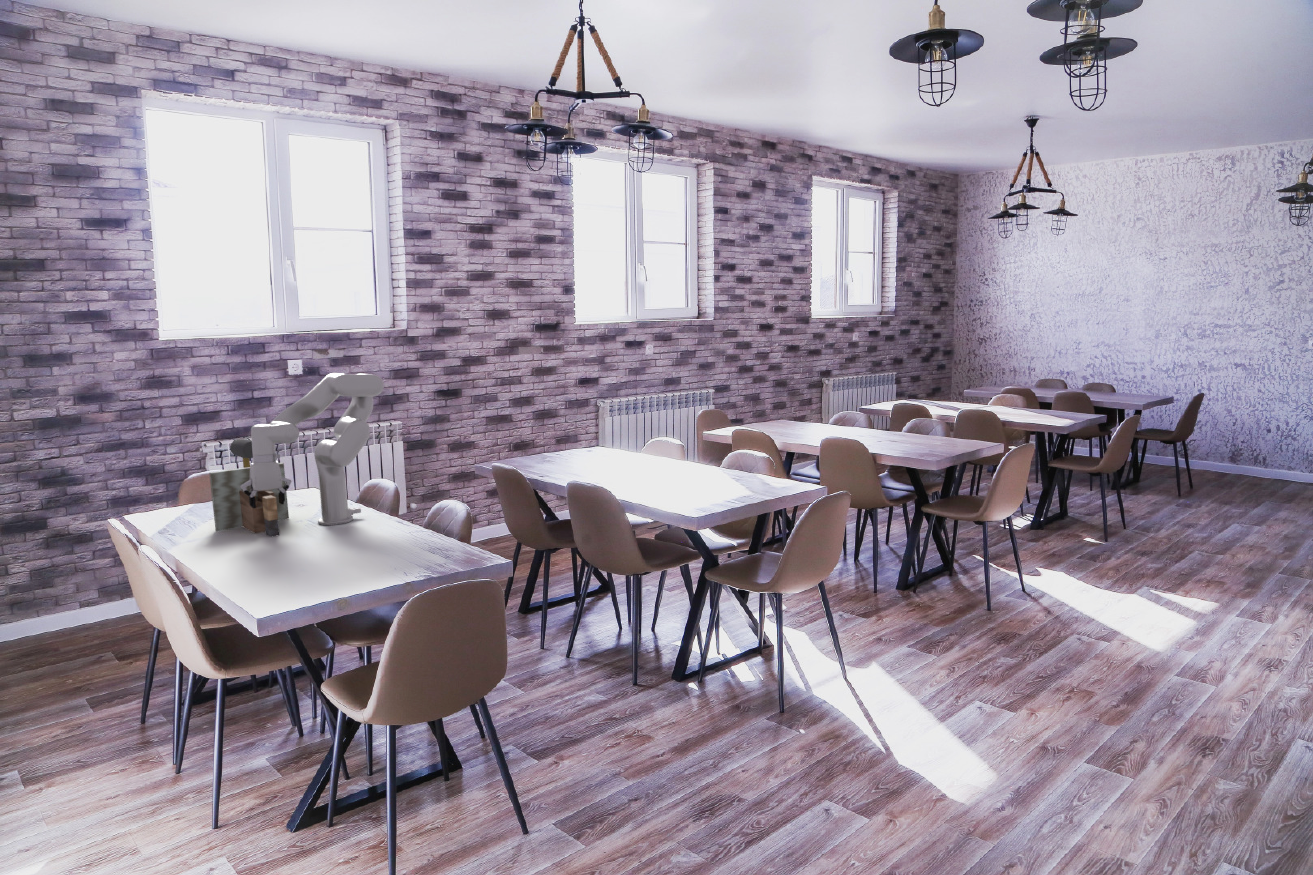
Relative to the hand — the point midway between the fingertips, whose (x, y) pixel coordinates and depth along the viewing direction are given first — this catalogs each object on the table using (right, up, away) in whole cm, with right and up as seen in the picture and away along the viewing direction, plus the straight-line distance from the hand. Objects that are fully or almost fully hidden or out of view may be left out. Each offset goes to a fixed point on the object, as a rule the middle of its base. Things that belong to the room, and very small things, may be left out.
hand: (267, 505), depth 306 cm
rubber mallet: (-24, -6, +39) cm, 46 cm away
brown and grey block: (+1, -11, +2) cm, 11 cm away
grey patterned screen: (-9, -9, +12) cm, 18 cm away
